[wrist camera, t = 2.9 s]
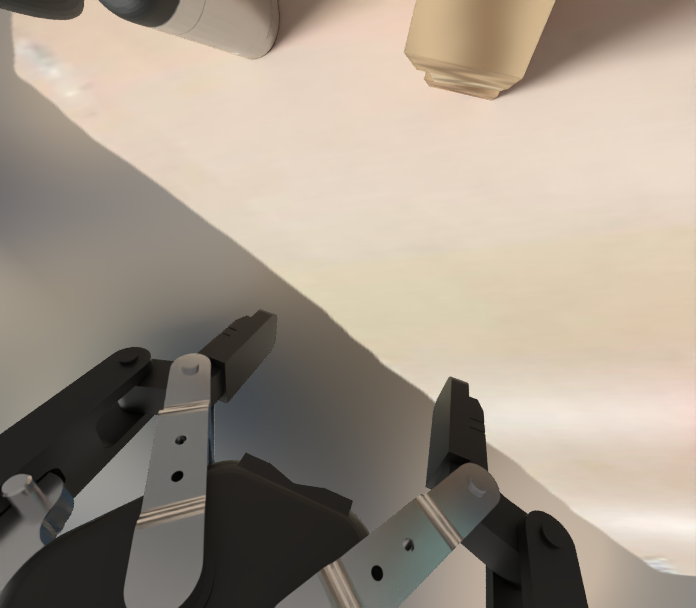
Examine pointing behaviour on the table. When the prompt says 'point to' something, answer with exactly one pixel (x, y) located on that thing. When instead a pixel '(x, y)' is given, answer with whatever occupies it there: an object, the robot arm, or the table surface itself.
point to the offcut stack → (475, 42)
